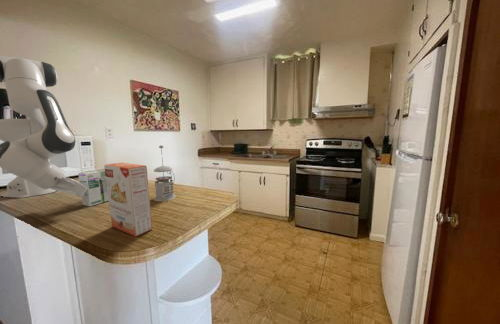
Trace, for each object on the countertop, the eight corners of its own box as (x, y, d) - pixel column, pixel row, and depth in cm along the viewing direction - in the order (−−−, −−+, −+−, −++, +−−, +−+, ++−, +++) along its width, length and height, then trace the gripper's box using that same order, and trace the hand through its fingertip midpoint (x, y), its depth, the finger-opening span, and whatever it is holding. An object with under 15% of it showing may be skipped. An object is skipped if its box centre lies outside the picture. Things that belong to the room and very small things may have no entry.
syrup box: (90, 206, 87) (86, 173, 85) (82, 204, 89) (78, 172, 87) (104, 202, 92) (100, 170, 90) (96, 201, 95) (92, 170, 93)
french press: (149, 200, 94) (144, 146, 91) (166, 193, 105) (162, 144, 102) (166, 202, 92) (162, 146, 88) (182, 194, 102) (179, 144, 99)
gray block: (104, 201, 92) (101, 173, 90) (94, 199, 95) (90, 172, 94) (111, 199, 95) (108, 172, 93) (101, 197, 98) (97, 171, 96)
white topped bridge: (101, 203, 90) (98, 172, 88) (88, 200, 95) (84, 171, 93) (134, 194, 104) (131, 167, 102) (121, 192, 109) (118, 166, 107)
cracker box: (110, 227, 67) (102, 164, 64) (129, 220, 72) (123, 161, 69) (134, 238, 60) (127, 167, 57) (153, 229, 65) (147, 164, 62)
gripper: (70, 172, 74) (102, 191, 84) (43, 168, 83) (75, 186, 93) (56, 186, 71) (91, 205, 81) (30, 182, 80) (64, 199, 90)
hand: (82, 195), depth 87 cm, fingers closed, pressing on syrup box
